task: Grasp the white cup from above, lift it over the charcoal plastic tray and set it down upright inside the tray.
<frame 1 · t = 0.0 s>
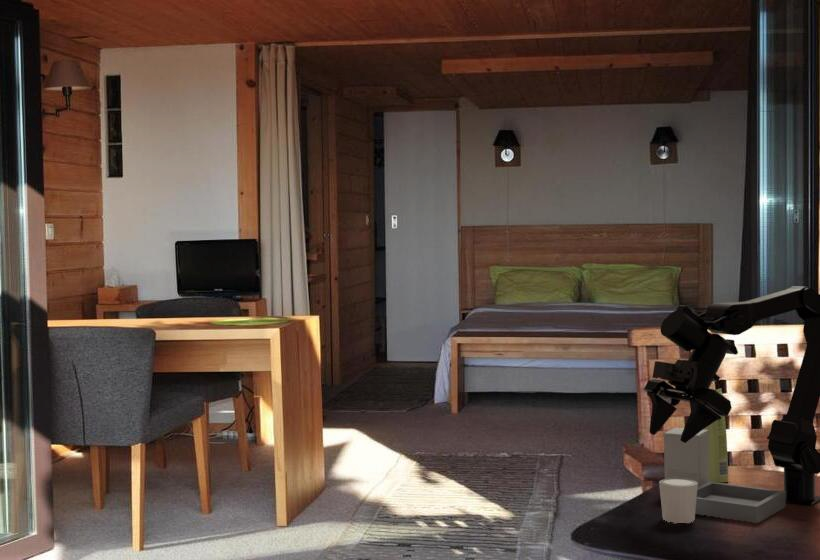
hand: (666, 437, 194), 15 cm above the table, tool tilted 35°, fingers open, 9 cm apart
tube: (716, 482, 225), on the table
tray: (732, 509, 200), on the table
white cup: (678, 520, 193), on the table
supplement box: (687, 493, 215), on the table
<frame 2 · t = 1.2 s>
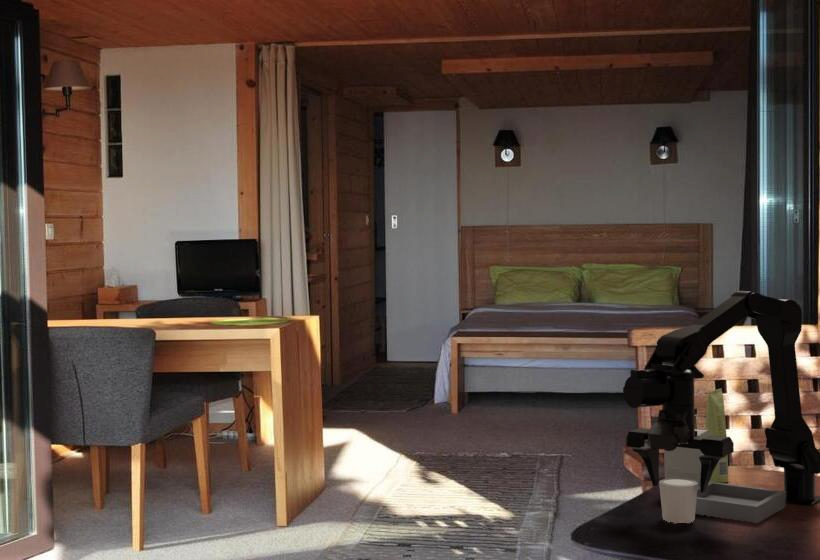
hand: (678, 489, 193), 6 cm above the table, tool pointing down, fingers open, 9 cm apart
nothing on the table moved.
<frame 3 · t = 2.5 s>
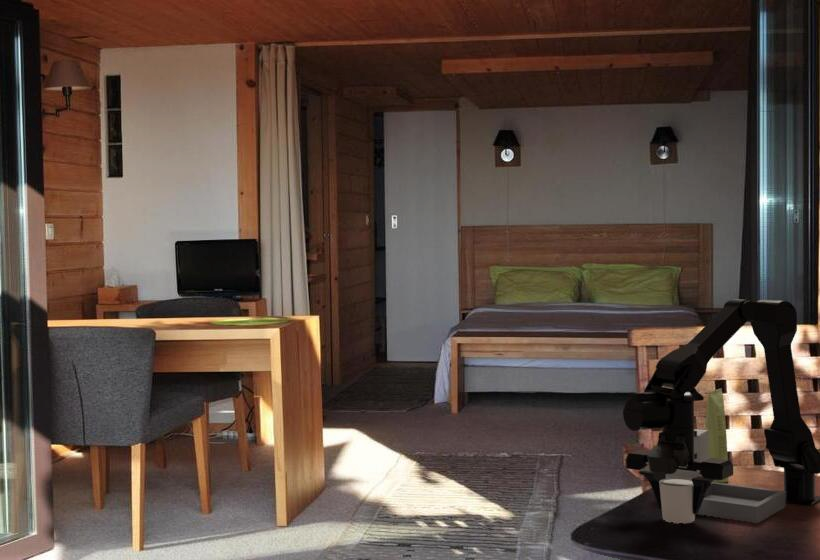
hand: (678, 511, 193), 2 cm above the table, tool pointing down, fingers closed on white cup, 6 cm apart
white cup: (678, 520, 193), on the table, touching gripper
everything else where it was.
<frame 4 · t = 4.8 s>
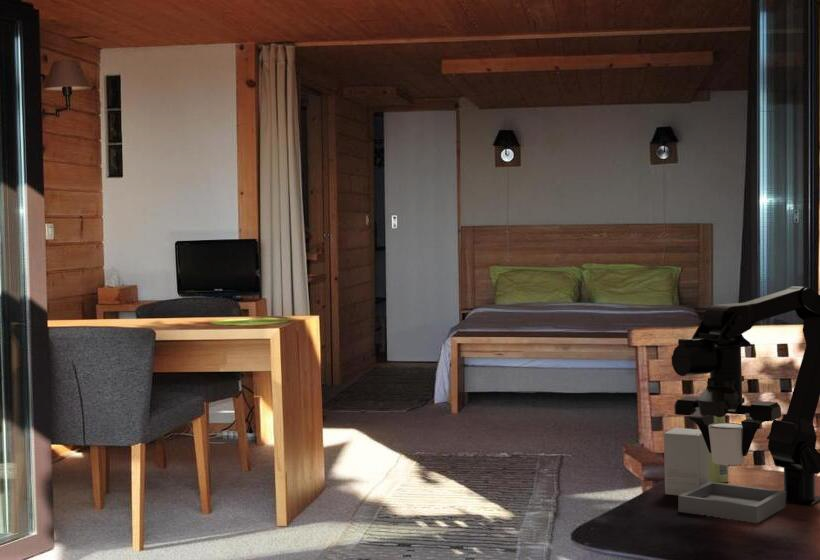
hand: (727, 454, 199), 11 cm above the table, tool pointing down, fingers closed on white cup, 6 cm apart
white cup: (728, 463, 199), point 9 cm above the table, touching gripper
everything else where it was.
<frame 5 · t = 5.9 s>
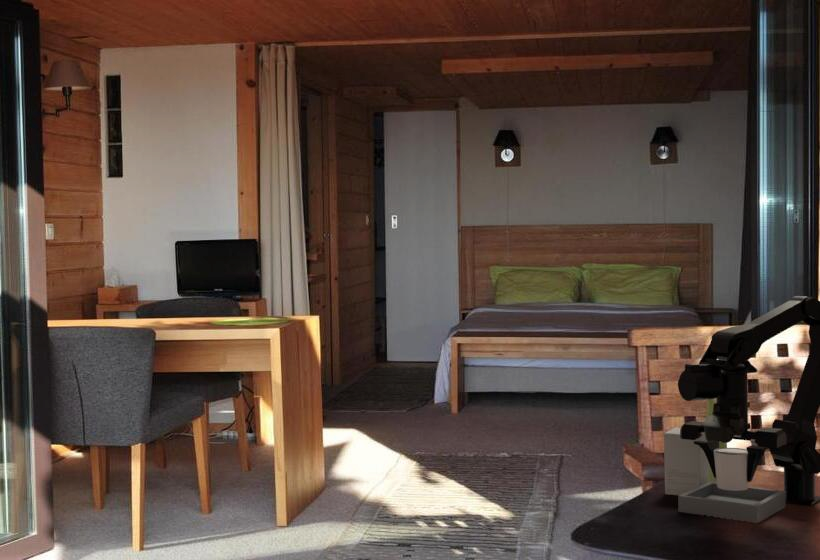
hand: (732, 479, 200), 6 cm above the table, tool pointing down, fingers closed on white cup, 6 cm apart
white cup: (732, 488, 200), point 4 cm above the table, touching gripper
everything else where it was.
when the fingers open (4 cm above the table, at t = 7.0 s): white cup drops 2 cm, resting on tray.
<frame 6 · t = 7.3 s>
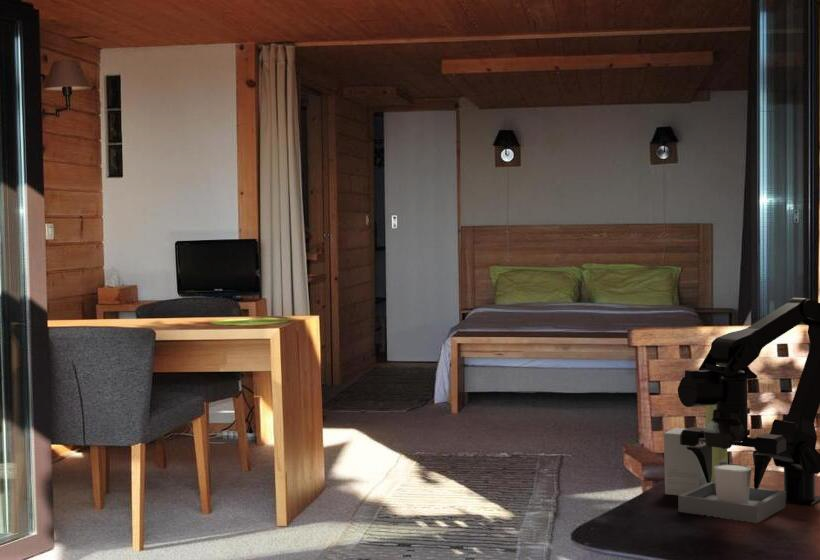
hand: (732, 485, 200), 4 cm above the table, tool pointing down, fingers open, 9 cm apart
white cup: (732, 505, 200), point 1 cm above the table, touching tray
everything else where it was.
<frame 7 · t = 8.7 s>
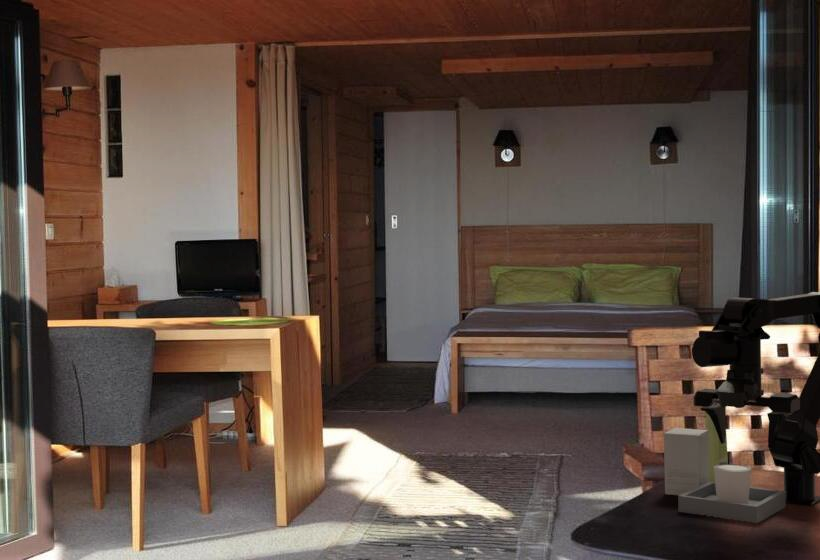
hand: (746, 445, 201), 12 cm above the table, tool pointing down, fingers open, 9 cm apart
nothing on the table moved.
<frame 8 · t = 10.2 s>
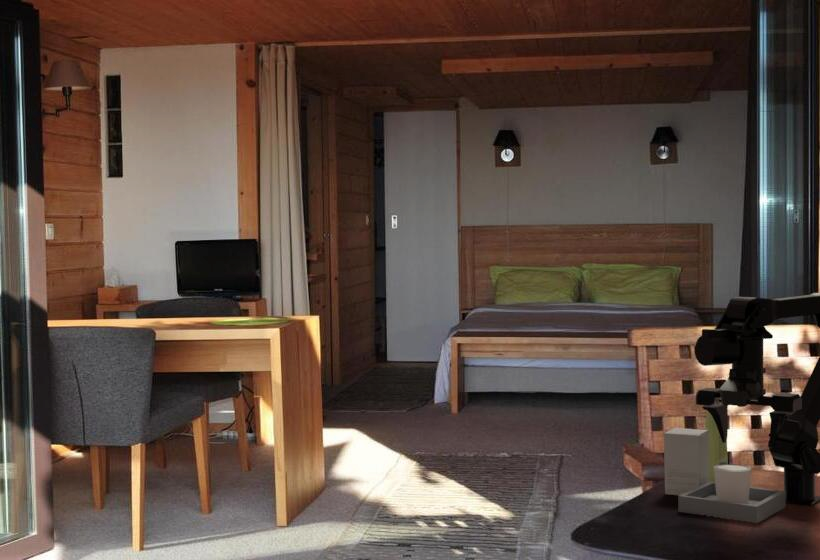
hand: (748, 444, 201), 12 cm above the table, tool pointing down, fingers open, 9 cm apart
nothing on the table moved.
at the end: white cup inside the target area on the tray (0.1 cm from its centre), point 0.8 cm above the tray's base; white cup tilted 0°; the gripper is holding nothing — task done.
